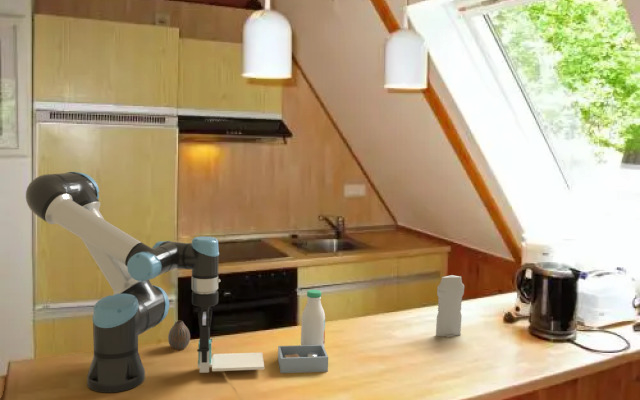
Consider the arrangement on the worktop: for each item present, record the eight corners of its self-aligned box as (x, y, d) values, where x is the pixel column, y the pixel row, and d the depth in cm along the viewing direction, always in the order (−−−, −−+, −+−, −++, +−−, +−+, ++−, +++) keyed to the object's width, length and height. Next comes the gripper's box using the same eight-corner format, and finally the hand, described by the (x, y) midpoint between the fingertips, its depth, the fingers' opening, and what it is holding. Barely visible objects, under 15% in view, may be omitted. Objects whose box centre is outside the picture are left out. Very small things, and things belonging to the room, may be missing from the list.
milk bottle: (321, 356, 181) (323, 295, 179) (298, 353, 182) (299, 293, 180) (326, 347, 188) (328, 289, 186) (303, 345, 190) (305, 287, 188)
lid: (196, 371, 160) (196, 348, 160) (198, 357, 171) (199, 335, 170) (264, 369, 163) (264, 346, 162) (262, 354, 174) (262, 333, 173)
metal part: (304, 363, 173) (305, 353, 172) (311, 361, 175) (312, 351, 175) (312, 367, 170) (313, 357, 170) (319, 364, 173) (320, 355, 172)
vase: (190, 343, 188) (190, 317, 187) (189, 351, 182) (190, 324, 181) (168, 344, 187) (168, 318, 186) (167, 352, 180) (167, 325, 179)
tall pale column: (458, 332, 207) (462, 273, 205) (464, 336, 204) (467, 276, 201) (432, 334, 205) (435, 274, 202) (437, 338, 201) (440, 277, 198)
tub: (280, 375, 166) (281, 358, 165) (277, 361, 176) (278, 345, 175) (327, 373, 168) (328, 357, 167) (322, 360, 178) (322, 344, 177)
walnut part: (288, 369, 168) (289, 360, 168) (284, 364, 172) (284, 355, 171) (301, 368, 170) (301, 358, 169) (296, 363, 173) (296, 353, 173)
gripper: (217, 299, 155) (217, 380, 158) (219, 282, 173) (218, 356, 175) (189, 299, 154) (189, 381, 157) (193, 282, 172) (193, 356, 174)
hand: (204, 367), depth 166 cm, fingers closed on lid, 5 cm apart
